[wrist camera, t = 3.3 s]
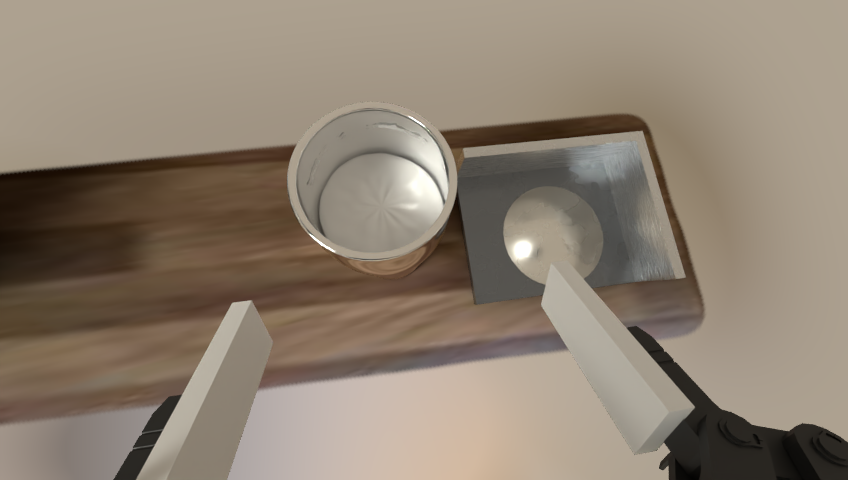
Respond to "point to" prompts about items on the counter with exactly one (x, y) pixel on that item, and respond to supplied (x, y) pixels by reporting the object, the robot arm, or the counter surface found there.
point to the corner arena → (563, 214)
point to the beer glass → (373, 187)
